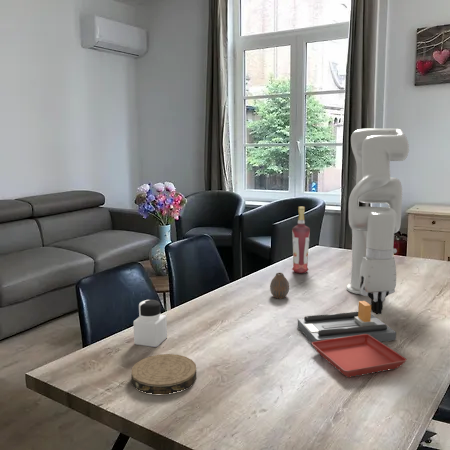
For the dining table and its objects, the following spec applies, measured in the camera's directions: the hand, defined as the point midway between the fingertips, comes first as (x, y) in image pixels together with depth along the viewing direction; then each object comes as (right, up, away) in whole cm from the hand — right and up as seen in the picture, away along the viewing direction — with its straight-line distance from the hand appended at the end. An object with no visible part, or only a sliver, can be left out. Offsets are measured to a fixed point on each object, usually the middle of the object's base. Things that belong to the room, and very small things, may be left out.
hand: (376, 312), depth 151 cm
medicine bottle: (-67, -8, -5) cm, 67 cm away
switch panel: (-10, -6, -1) cm, 11 cm away
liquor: (-14, +6, +63) cm, 64 cm away
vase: (-26, 0, +32) cm, 41 cm away
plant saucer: (-11, -10, -18) cm, 24 cm away
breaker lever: (-4, -3, 0) cm, 5 cm away
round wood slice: (-60, -12, -27) cm, 67 cm away
